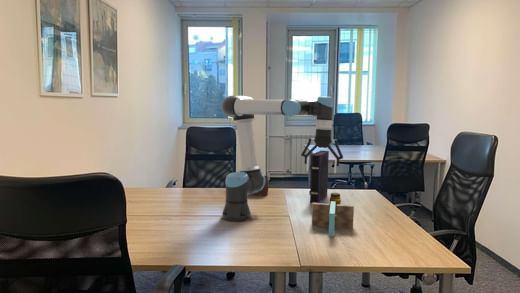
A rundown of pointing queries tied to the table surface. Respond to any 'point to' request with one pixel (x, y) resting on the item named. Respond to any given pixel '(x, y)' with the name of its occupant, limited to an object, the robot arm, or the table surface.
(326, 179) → the book
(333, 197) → the condiment
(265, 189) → the letter holder
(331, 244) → the table surface
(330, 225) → the teal plate
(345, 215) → the walnut plate
